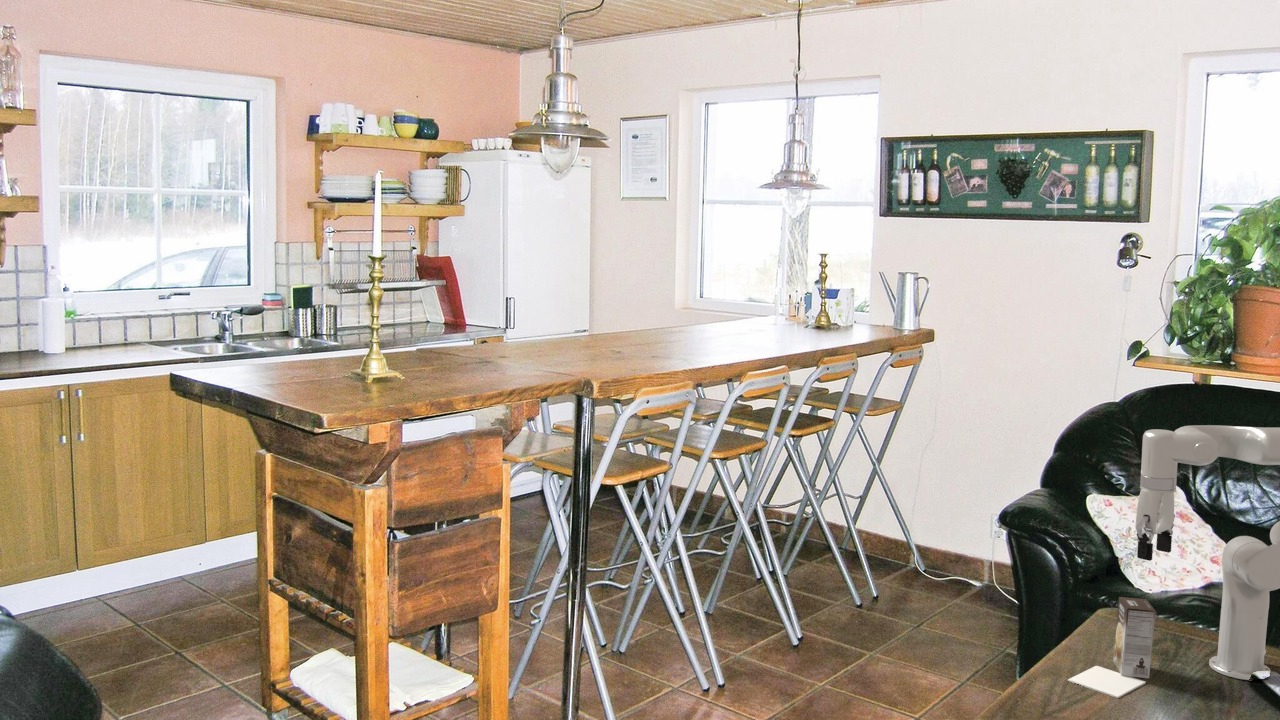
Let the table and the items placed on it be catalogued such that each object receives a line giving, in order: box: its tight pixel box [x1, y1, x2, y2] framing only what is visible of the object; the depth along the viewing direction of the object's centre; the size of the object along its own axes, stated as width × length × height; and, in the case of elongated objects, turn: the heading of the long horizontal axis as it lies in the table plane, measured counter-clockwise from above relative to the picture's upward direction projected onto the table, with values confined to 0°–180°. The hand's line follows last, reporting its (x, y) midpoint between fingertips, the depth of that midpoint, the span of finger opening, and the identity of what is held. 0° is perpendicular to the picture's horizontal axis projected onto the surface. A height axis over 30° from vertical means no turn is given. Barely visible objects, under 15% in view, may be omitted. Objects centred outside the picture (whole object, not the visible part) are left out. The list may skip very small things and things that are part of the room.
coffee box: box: [1113, 596, 1157, 679], centre depth 252 cm, size 9×6×16 cm
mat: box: [1067, 665, 1147, 699], centre depth 246 cm, size 13×12×1 cm
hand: (1154, 555), depth 254 cm, fingers open, 9 cm apart
